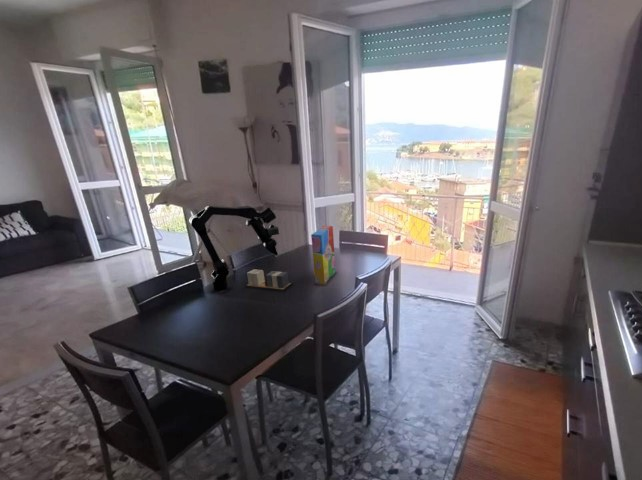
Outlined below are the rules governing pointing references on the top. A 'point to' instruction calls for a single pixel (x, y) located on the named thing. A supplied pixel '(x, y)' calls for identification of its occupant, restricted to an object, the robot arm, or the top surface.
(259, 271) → the cream book
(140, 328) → the top surface
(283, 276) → the grey book
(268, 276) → the grey book
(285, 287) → the book stand
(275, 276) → the cream book
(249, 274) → the cream book
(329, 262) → the game box
